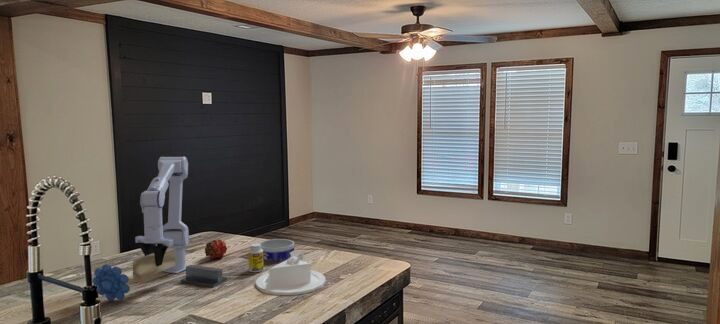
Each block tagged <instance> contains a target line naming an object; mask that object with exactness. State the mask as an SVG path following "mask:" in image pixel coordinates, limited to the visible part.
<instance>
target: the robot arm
mask: <svg viewBox="0 0 720 324" xmlns="http://www.w3.org/2000/svg"><path fill="white" fill-rule="evenodd" d="M157 168H158V174H157V176H156V177H154V178H153V179H152V180H151V182H150V183H149V186H148V188H147V189H146V190H144V191H143V192H141V194H140V198H139V204H140V207H141V212H142V214H143V227H144V228H143V231H144V235H137V236H135V237H134V239H135V240H134V241H135V243H136V244H139V243H141V244H140V245H139V249H140V250H141V252H142V253H143V255H144V256H146V255H149V254H152V253H154V255H155V263H156V266H160V265H162V262H163V258H164V255H165V252H166V250H167V248H172V249H175V266H172V267H170V268H167V269H165V270H162V271H161V272H165V273H172V274H179V273H181V272H183V271H186V266H187V265H186V249H185V247H187V246H188V244H189V241H190V233H189V227H188V226H187V224H185V223H184V222H183V221H182V209H183V208H182V206H183V205H182V204H183V203H182V202H183V187H184V185H183V183H184V180H185V179H187V178H188V175H189V161H188V158H187V157H186V156H160V157H159V158H158V160H157ZM168 189H169V190H168ZM167 190H168V210H167V211H168V213H167V214H168V216H167V222H166V223H165V224H163V223H164V222H163V207H164V205H165V199H166V192H167Z"/></svg>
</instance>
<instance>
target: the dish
mask: <svg viewBox="0 0 720 324" xmlns="http://www.w3.org/2000/svg"><path fill="white" fill-rule="evenodd" d="M290 255H291V257H290V258H289V259H287V260H286V261H281V262H279V263H278V264H275V265H273V266H272V267H270V268H269V269H268V272H267V273H264V274H261V275H260V276H259V277H258V278H257V279H256V281H255V287H256V288H257V290H259V291H260V292H262V293H265V294H269V295H276V296H298V295H305V294H308V293H309V294H310V293H311V292H312V293H313V292H315V291H317V290H320V289H322V288H323V287H324V286H325V285H326V276H325V275H324V274H323V273H321V272H318V271H316V270H311V263H310V262H307V261H305V260H303V259H304V257H305V253H302V252H301V251H300V250H298V249H296V250H295V249H294V251H292V252H290ZM324 284H325V285H324Z"/></svg>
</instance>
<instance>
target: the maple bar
mask: <svg viewBox="0 0 720 324" xmlns="http://www.w3.org/2000/svg"><path fill="white" fill-rule="evenodd" d="M172 266H175V249H172V248H167V250H166V252H165V255H164V258H163V262H162V265H160V266H156V263H155V255H154V253H152V254H149V255H146V256H145V255H144V256H141V257H138V258H135V259H132V278H133V279H136V280H143V279H145V278H147V277H149V276H152V275H154V274H157V273H160V272H163V271H162V270H165V269H167V268H170V267H172Z"/></svg>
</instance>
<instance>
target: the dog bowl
mask: <svg viewBox="0 0 720 324" xmlns="http://www.w3.org/2000/svg"><path fill="white" fill-rule="evenodd" d="M258 244H261V249H263V262H269V263H278V262H279V263H282V262H284V261H286V260H287V259H289V258H290V257H291V255H290V252H292V251H295V241H293V240H291V239H285V238H273V239H267V240H263V241H260V242H259V243H258Z"/></svg>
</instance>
